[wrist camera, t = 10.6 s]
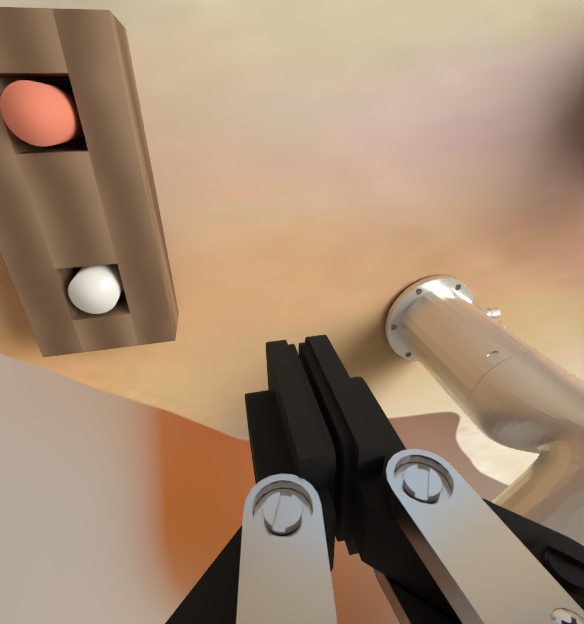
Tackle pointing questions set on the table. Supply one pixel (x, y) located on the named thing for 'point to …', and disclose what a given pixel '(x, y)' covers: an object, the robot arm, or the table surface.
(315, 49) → the table surface
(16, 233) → the plug block
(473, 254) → the table surface
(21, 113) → the red plug
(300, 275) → the table surface
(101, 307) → the white plug
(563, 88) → the table surface
